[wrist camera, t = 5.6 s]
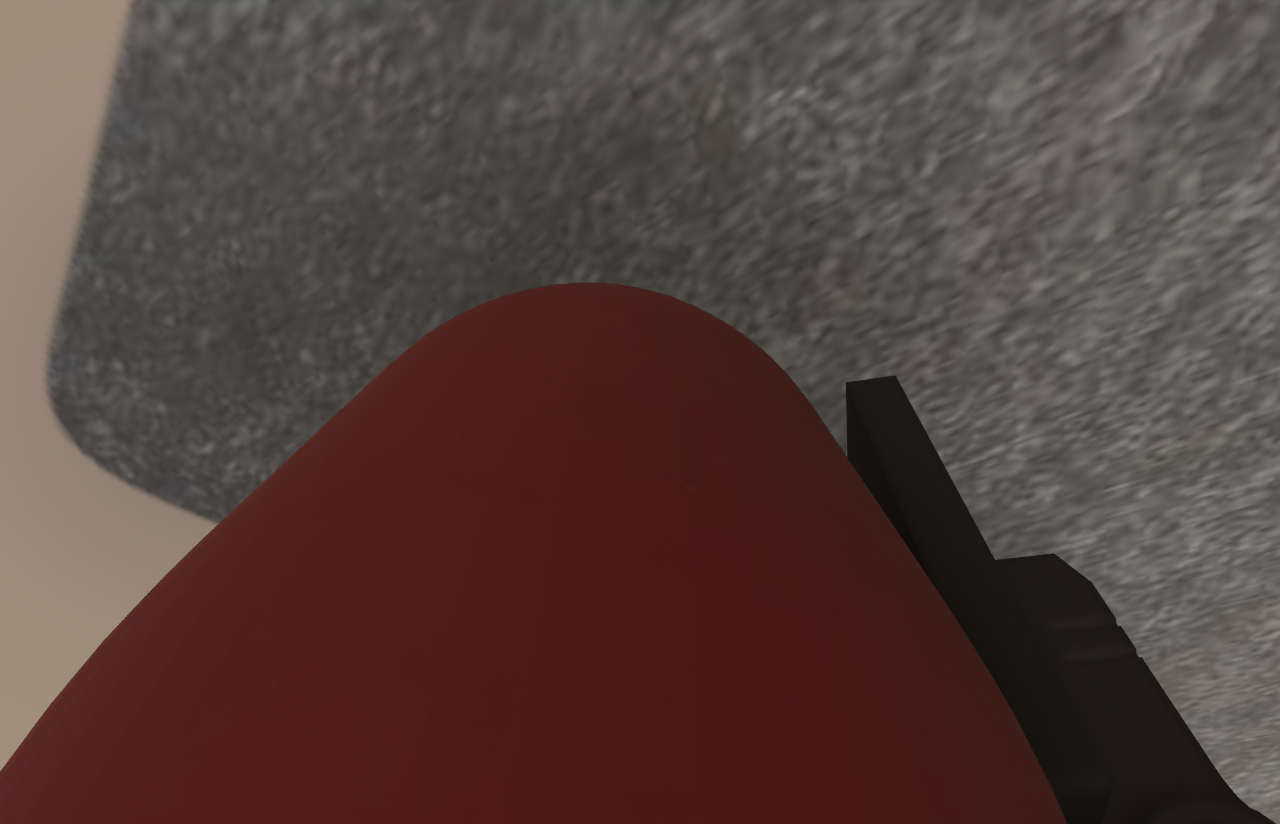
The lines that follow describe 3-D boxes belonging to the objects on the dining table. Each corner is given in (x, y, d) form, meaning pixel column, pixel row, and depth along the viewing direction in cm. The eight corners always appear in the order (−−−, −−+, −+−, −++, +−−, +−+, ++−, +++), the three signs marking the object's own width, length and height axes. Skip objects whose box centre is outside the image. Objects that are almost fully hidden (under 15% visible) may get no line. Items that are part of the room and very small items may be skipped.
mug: (788, 655, 16) (922, 1420, 8) (416, 641, 16) (171, 1395, 8) (896, 162, 11) (1759, 1114, 2) (315, 140, 11) (-918, 1014, 2)
